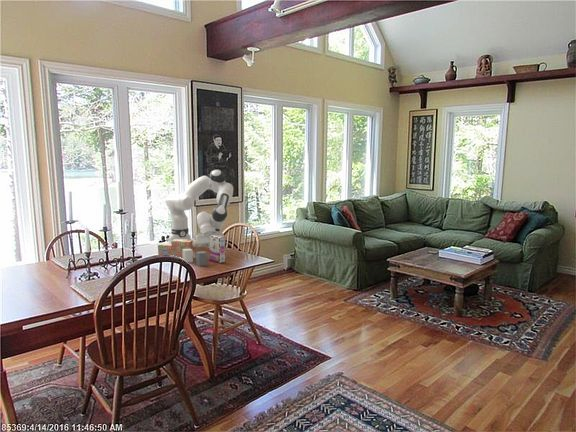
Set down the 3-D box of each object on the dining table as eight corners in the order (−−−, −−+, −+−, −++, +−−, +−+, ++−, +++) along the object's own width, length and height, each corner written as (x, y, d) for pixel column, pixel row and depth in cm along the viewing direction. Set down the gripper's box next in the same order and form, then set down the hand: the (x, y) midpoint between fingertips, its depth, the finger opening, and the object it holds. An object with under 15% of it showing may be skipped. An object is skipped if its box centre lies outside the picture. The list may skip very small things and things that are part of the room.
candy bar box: (225, 262, 260) (225, 237, 257) (219, 263, 256) (219, 238, 254) (215, 258, 268) (215, 234, 265) (209, 260, 264) (209, 235, 262)
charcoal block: (196, 264, 254) (196, 251, 252) (203, 263, 256) (203, 250, 255) (199, 266, 250) (199, 253, 248) (206, 265, 252) (206, 252, 251)
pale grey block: (182, 261, 260) (182, 249, 259) (190, 260, 263) (189, 248, 262) (185, 263, 256) (185, 250, 255) (192, 262, 259) (192, 249, 257)
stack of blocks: (158, 258, 266) (157, 240, 264) (161, 256, 272) (161, 238, 270) (190, 260, 264) (189, 241, 262) (193, 257, 270) (192, 239, 268)
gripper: (194, 231, 266) (199, 249, 259) (222, 228, 277) (229, 245, 270) (191, 237, 270) (197, 254, 263) (220, 234, 281) (226, 250, 275)
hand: (213, 250), depth 267 cm, fingers closed
